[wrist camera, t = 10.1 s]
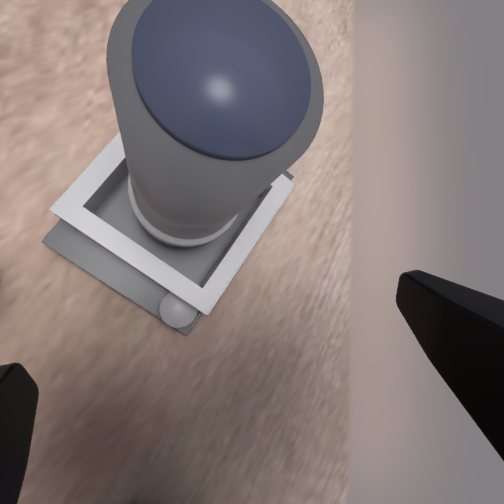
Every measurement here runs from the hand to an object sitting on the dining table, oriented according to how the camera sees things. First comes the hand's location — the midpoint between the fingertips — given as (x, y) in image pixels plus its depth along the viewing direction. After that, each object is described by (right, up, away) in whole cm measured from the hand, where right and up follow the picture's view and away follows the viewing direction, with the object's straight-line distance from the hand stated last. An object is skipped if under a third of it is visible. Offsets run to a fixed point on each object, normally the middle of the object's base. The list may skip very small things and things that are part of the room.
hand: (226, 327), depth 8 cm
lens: (-3, +4, +11) cm, 12 cm away
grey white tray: (-4, +4, +12) cm, 13 cm away
